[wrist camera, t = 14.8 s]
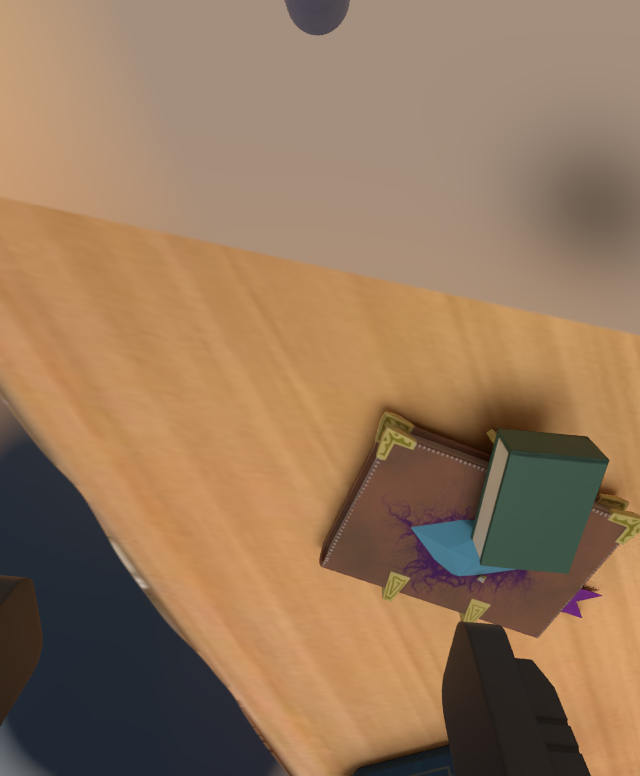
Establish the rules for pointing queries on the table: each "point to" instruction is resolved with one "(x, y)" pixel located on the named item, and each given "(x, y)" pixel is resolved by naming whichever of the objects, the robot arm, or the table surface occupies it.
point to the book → (454, 534)
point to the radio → (414, 765)
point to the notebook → (536, 500)
